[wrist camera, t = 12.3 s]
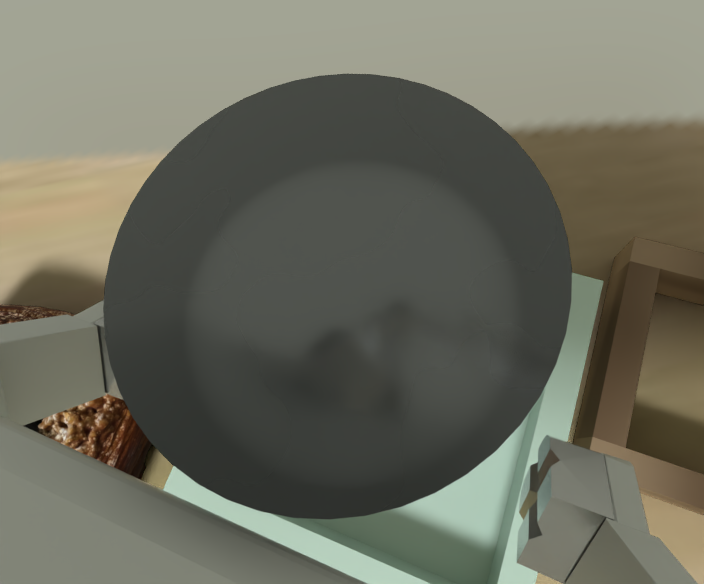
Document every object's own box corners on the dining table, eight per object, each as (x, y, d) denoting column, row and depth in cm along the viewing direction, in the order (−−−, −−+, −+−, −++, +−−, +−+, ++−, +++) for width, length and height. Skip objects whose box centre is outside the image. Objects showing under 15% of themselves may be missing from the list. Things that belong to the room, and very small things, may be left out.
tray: (581, 301, 19) (603, 280, 17) (503, 634, 16) (517, 664, 13) (304, 225, 22) (291, 198, 19) (190, 494, 18) (158, 499, 16)
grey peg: (484, 349, 18) (618, 120, 6) (440, 500, 17) (497, 619, 4) (345, 305, 19) (218, 44, 7) (293, 442, 18) (20, 407, 6)
